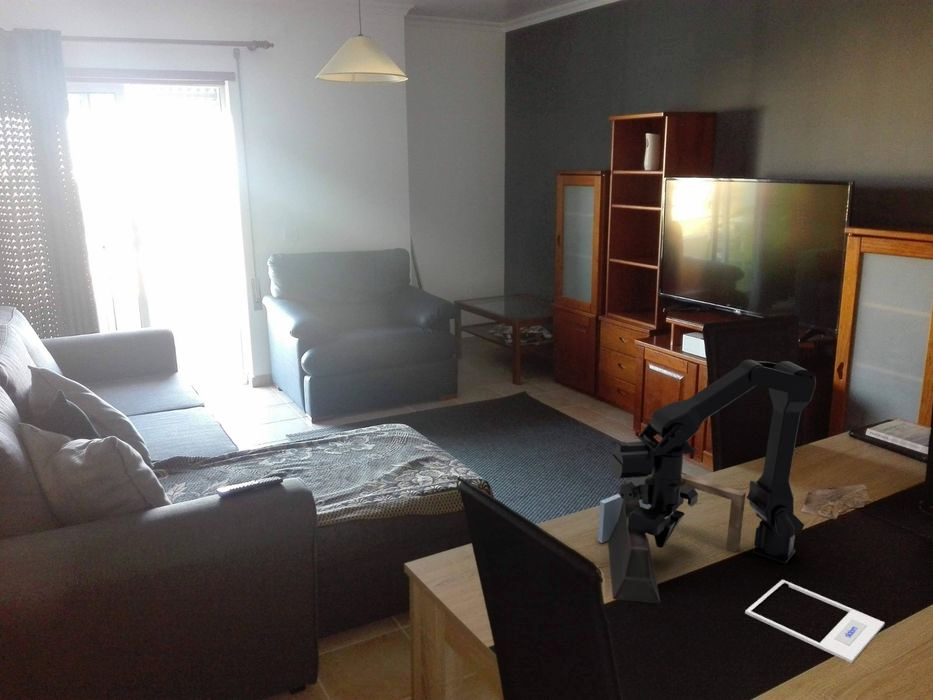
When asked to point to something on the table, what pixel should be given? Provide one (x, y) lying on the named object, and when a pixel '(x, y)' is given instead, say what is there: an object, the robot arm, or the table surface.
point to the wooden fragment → (835, 501)
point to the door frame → (735, 510)
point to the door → (610, 516)
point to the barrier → (631, 561)
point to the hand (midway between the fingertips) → (660, 546)
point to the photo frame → (846, 634)
